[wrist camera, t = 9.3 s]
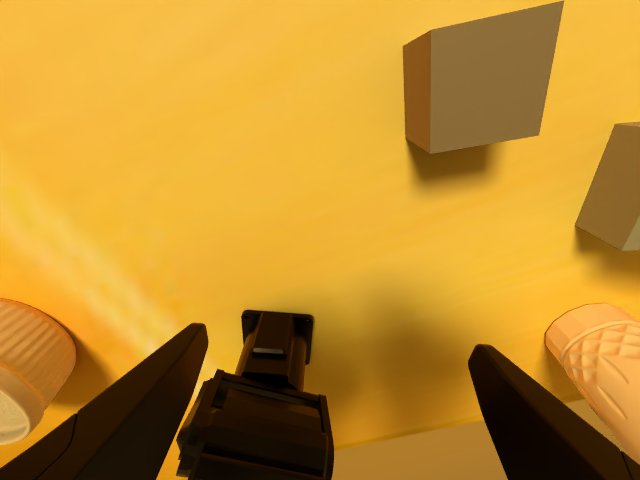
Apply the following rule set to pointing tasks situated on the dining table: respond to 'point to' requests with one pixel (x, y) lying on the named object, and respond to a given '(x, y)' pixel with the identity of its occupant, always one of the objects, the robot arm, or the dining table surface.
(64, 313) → the dining table surface
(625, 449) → the white cup
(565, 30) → the dining table surface
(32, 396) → the ramekin
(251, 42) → the dining table surface
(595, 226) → the base block
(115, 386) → the robot arm
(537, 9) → the brown block
